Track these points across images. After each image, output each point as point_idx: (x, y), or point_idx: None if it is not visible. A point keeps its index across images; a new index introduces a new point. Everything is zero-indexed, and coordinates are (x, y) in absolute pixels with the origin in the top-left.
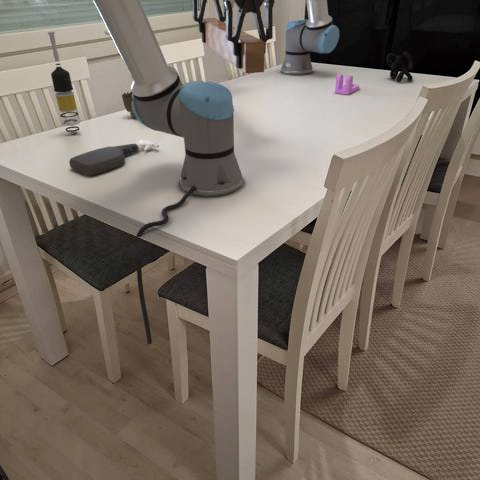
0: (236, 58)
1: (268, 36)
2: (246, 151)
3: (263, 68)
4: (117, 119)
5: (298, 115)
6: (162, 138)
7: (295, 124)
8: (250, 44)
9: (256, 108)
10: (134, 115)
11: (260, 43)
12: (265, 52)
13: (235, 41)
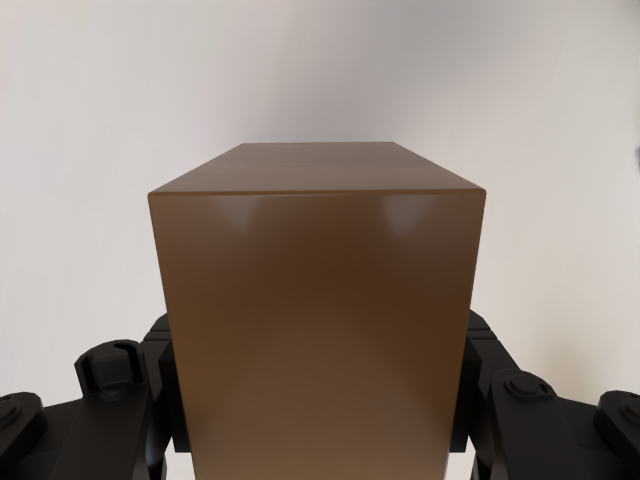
0: None
1: (31, 422)
2: (369, 42)
3: (241, 145)
4: None
5: (100, 337)
6: (580, 258)
7: (130, 257)
8: (392, 182)
9: None
10: None
11: (226, 185)
12: (161, 316)
13: (535, 384)
